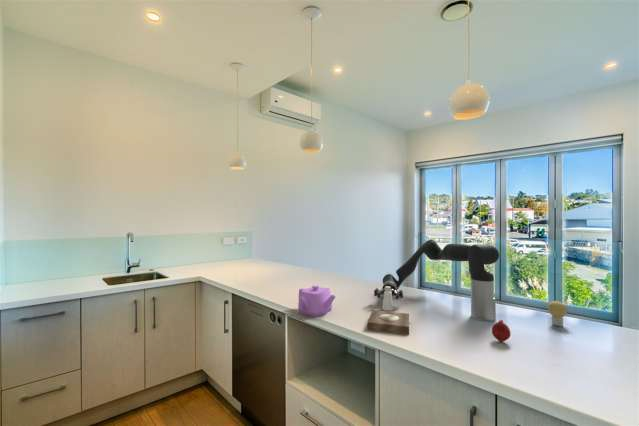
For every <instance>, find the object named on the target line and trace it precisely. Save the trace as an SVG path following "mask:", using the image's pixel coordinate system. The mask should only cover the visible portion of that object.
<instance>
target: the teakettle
mask: <svg viewBox="0 0 639 426" xmlns="http://www.w3.org/2000/svg"><path fill="white" fill-rule="evenodd" d="M335 298H336V295H333V294H332V293H331V289H330V287H320V286H319V285H312V287H311V286H310V287H309V288H299V289H298V302H297V303H298V305H297V308H298V313H299V314H301V315H305V316H310V317H313V318H317V317H318V318H319V317H322V316H324V315H326V314H327V313H330V312H331V311H332V309H333V302H334V300H335Z"/></svg>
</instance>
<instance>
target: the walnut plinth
mask: <svg viewBox="0 0 639 426" xmlns="http://www.w3.org/2000/svg"><path fill="white" fill-rule="evenodd" d="M367 331H375V332H384V333H385V332H386V333H393V334H402V335H410V314H409V313H406V312H395V311H387V310H384V311H383V310H374V309H372V310H371V313H370V315H369V318H368V321H367Z"/></svg>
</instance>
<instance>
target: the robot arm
mask: <svg viewBox="0 0 639 426" xmlns="http://www.w3.org/2000/svg"><path fill="white" fill-rule="evenodd" d="M499 253H500V252H499V250H498V248H496V247H495V246H494V245H492V244H489V243H488V244H487V243H485V244H484V243H483V244H482V243H479V244H472V245H469V244H464V243H463V244H462V243H449V244H448V243H447V244H446V245H445V246H443V248H441V246H440V245H438V242H436V241H435V240H434V239H427V240H426V241H425V242H424V243H422V245H421V246H419V247H418V248H417V250H416V251H414V253H413V254H412V255H411V257H409V259H408V260H406V262H405V263H403V264H402V265H401V266H400V267H399V268H398V269H396V270H395V273H396V275H397V278H398V279H396V277H395V276H394V275H393V274H391V273H387V274H385V275H384V276H383V278H382V284H383V285H382V288H381V289H379V288H377V287H376V288H375V289H374V290H373V292H374V293H373V295H374V296H375V297H377V298H378V299H380V298H381V297H383V298H384V292H385V287H386V286H389V287H391V290H390V291H391V292H392V298H394V299H395V300H399V299H400V298H401V299H403V298H404V292H403V290H402V289H400V290H399V288H400V287H401V285H402V284H403V282H404V281H405V280H406V279H407V278H409V277H410V276H411V275H412V274H413V273H414V272H415V271H416V269H417V266H418V262H419V260H420V258H421V257H422V255H423V254H424V255H425V256H426V257H427V258H428V259H429V260H432V261H441V260H442V261H443V260H444V261H452V262H468V272H469V274H470V317H471V318H473V319H476V320H479V321H488V322H491V321H496V320H497V313H496V312H497V310H496V309H497V305H496V302H497V300H496V298H495V284H494V283H495V277H494V274H493V273H492V272H489V271H487V270H486V269H485V265H492V264H495V263H496V262H498V260H499V258H500V254H499Z"/></svg>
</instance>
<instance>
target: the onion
mask: <svg viewBox="0 0 639 426" xmlns="http://www.w3.org/2000/svg"><path fill="white" fill-rule="evenodd" d="M491 334H492V335H493V337H494V339H496V340H497V342H500V343H503V342H505V341H507V340H509V339H510V337H511V330H510V328H509V326H508V325H507V324H506V323H504V321H503V320H502V319H499V320H498V321H497V322H496V323H494V324H493V325H492V327H491Z"/></svg>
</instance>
